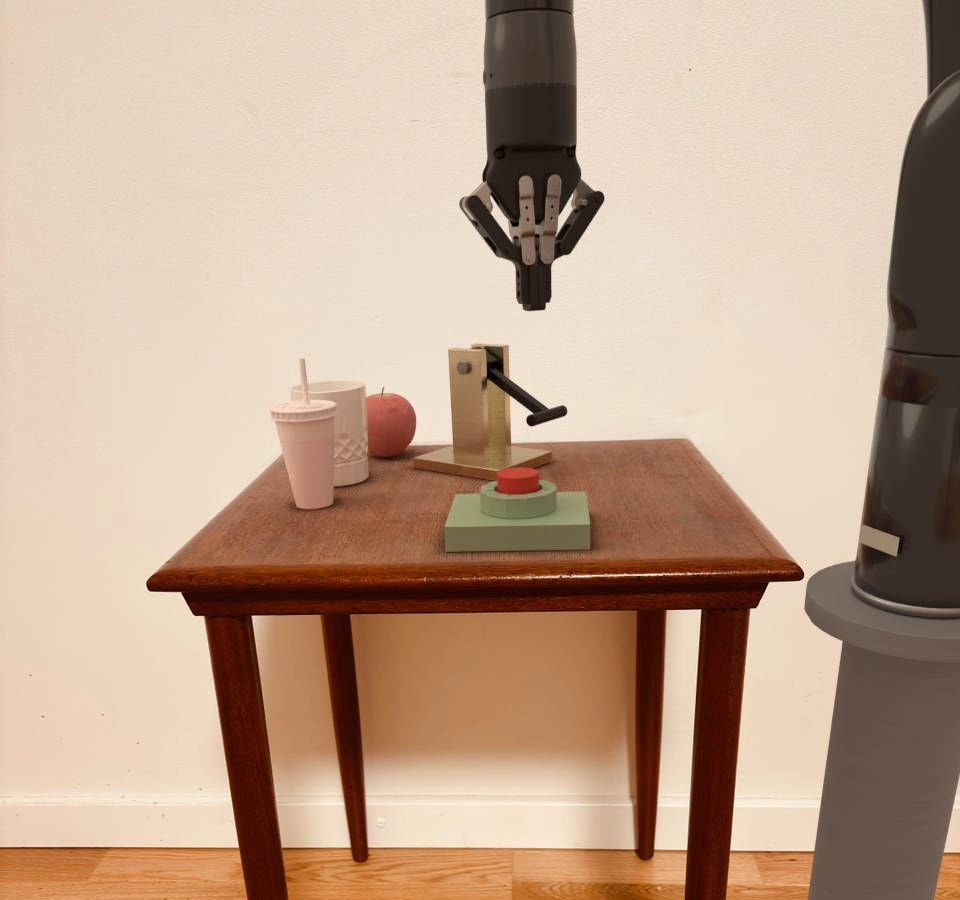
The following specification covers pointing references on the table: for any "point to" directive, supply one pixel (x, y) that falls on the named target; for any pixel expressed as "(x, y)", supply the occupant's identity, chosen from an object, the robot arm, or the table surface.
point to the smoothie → (308, 446)
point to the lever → (522, 395)
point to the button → (518, 481)
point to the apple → (389, 424)
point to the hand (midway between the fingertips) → (534, 309)
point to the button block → (518, 521)
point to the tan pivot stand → (479, 420)
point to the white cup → (344, 426)
